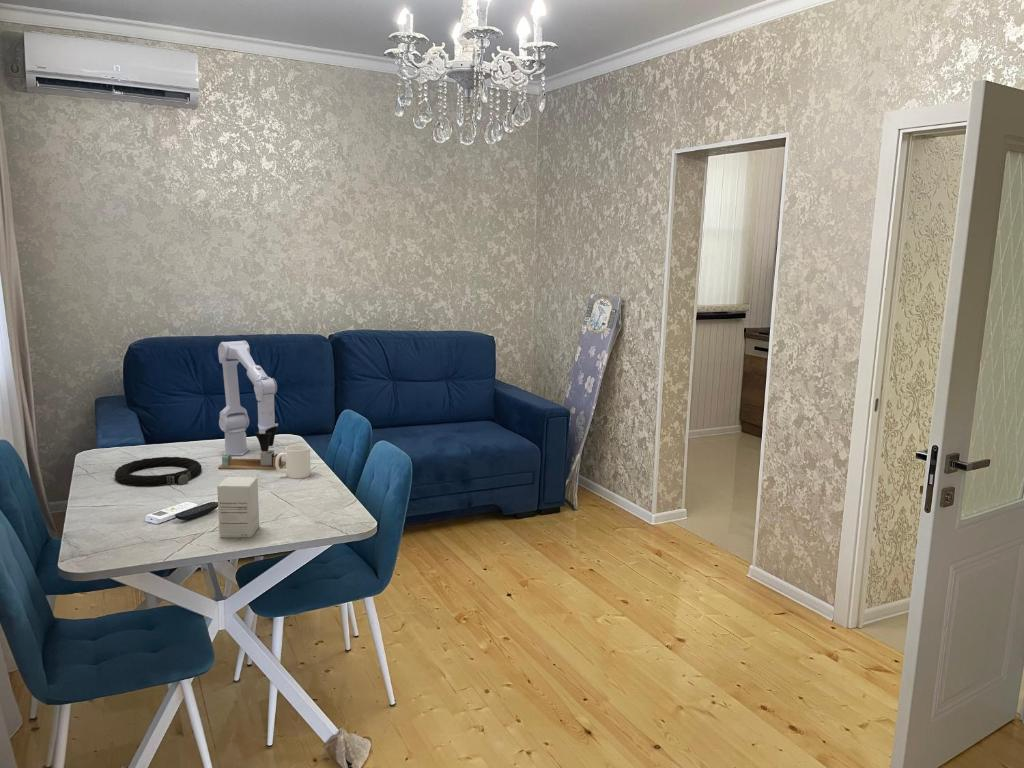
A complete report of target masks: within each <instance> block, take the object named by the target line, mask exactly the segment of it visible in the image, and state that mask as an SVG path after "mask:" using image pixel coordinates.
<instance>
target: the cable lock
mask: <svg viewBox="0 0 1024 768" xmlns="http://www.w3.org/2000/svg"><path fill="white" fill-rule="evenodd" d="M157 467H178V468H180V467H182V468H186V469H184V470H180V471H177V472H173V473H165V474H155V475H153V474H151V475H149V474H148V475H138V474H131V473H133V472H136V471H141V470H144V469H149V468H150V469H151V468H152V469H153V468H157ZM202 468H203V467H202V464H201V463H200V462H199V461H197V460H196V459H192V458H189V457H181V456H162V457H161V456H160V457H151V458H149V457H148V458H142V459H138V460H133V461H130V462H127V463H123V464H122V465H121V466H119V467H118V468H117V469H116V470H115V471H114V473H115V474H114V477H115V480H116V481H118V482H119V483H122V484H125V485H128V486H134V487H135V486H136V487H155V486H163V485H165V486H166V485H167V486H171V485H177V486H179V485H180V486H183V485H186V484H188V483H189V481H190V480H191V479H193V478H195V477H198V476H199V474H200V473H202Z"/></svg>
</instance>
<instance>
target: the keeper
mask: <svg viewBox="0 0 1024 768" xmlns="http://www.w3.org/2000/svg"><path fill="white" fill-rule="evenodd" d="M259 455H260V456H259V457H260V458H259V459H260V461H261V466H272V459H273V457H274V456H275V450H273V449H272V450H271V449H270V450H269V449H268V451H262V450H261V452H260V453H259Z"/></svg>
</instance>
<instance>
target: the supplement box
mask: <svg viewBox="0 0 1024 768" xmlns="http://www.w3.org/2000/svg"><path fill="white" fill-rule="evenodd" d="M258 479H259V478H258V477H257V476H226V477H225V478H224V480H222V481H221V482H220V483H219V484H218V485H217V487H216V488H217V511H218V512H217V514H218V532H219V533H218V534H219V538H252V537H253V536H254V535H255V533H256V532H257V530H258V529H259V527H260V510H259V509H260V508H259V506H260V505H259V484H258V483H259V481H258Z"/></svg>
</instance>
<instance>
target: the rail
mask: <svg viewBox="0 0 1024 768" xmlns="http://www.w3.org/2000/svg"><path fill="white" fill-rule="evenodd" d="M278 454H279V453H274V457H273V459H272V466H261V461H260V458H233V455H232V454H225V455H222V457H221V464H220V465H219V467H217V470H275V471H278V470H277V469H276V466H275V461H276V457H277V455H278ZM282 457H283V456H281V457H280V458H279V462H278V465H279V468H280V469H283V467H284V466H286V461H283V460H282Z"/></svg>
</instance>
